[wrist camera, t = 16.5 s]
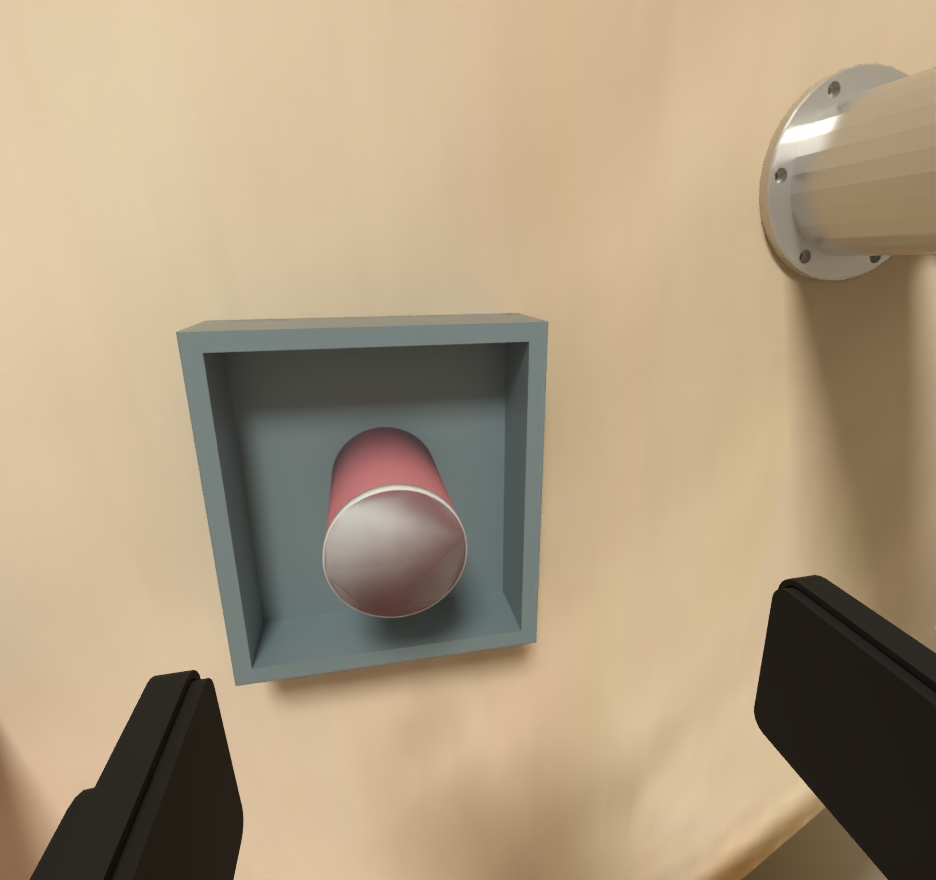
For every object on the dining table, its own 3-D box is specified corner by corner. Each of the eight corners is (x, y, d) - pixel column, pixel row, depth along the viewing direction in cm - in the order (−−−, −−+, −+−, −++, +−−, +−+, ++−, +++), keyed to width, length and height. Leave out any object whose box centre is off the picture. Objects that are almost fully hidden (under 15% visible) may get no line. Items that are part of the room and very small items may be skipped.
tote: (517, 313, 34) (548, 321, 28) (511, 593, 40) (536, 642, 35) (205, 320, 30) (175, 331, 25) (251, 626, 36) (235, 685, 31)
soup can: (438, 426, 34) (472, 487, 24) (433, 522, 36) (462, 613, 26) (330, 425, 32) (321, 489, 23) (331, 525, 34) (323, 622, 25)
